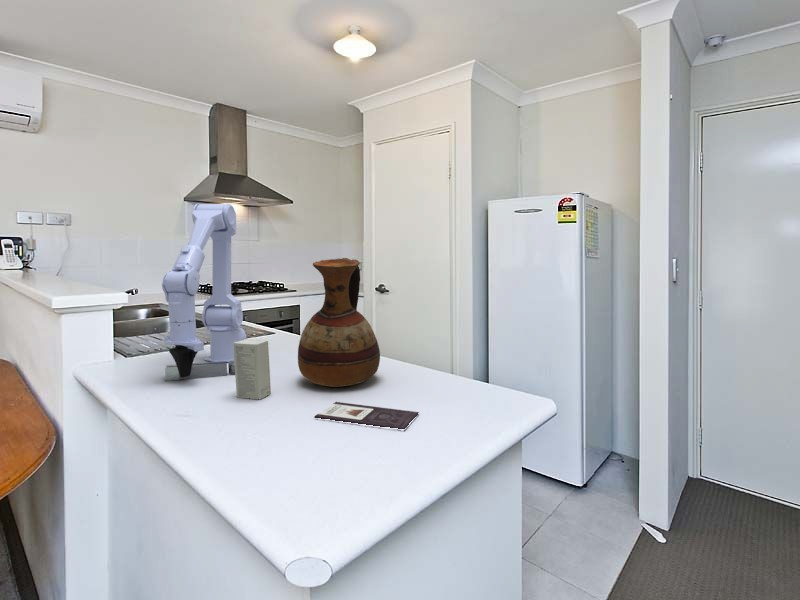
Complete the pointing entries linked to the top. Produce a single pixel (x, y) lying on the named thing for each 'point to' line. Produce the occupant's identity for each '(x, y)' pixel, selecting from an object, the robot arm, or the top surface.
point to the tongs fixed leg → (230, 364)
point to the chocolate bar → (368, 415)
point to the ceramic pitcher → (338, 331)
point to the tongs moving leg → (197, 371)
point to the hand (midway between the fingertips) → (185, 376)
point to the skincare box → (252, 368)
